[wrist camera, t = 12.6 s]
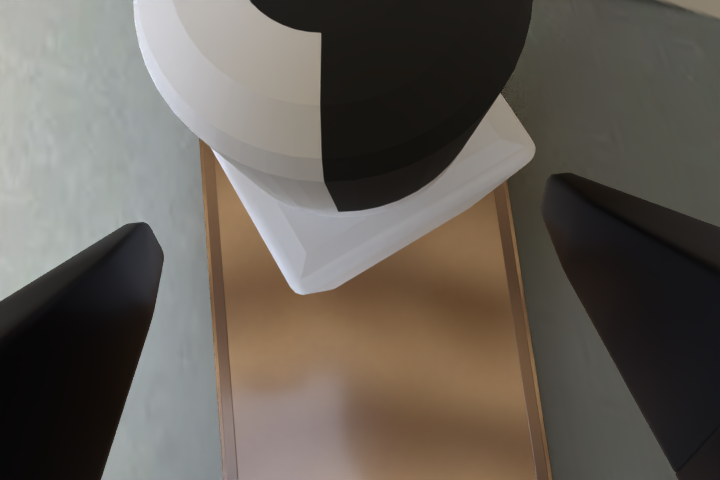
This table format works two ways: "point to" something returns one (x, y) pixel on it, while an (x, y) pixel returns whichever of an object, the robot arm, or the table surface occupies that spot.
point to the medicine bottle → (344, 115)
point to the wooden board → (375, 355)
